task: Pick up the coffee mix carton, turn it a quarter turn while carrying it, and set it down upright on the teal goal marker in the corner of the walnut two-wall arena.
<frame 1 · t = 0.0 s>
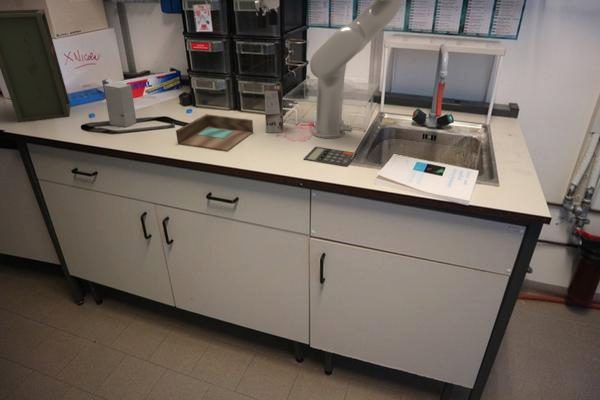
hand: (267, 26, 146), 37 cm above the countertop, tool pointing down, fingers open, 9 cm apart
coffee box: (274, 129, 161), on the countertop
arena: (216, 138, 152), on the countertop
skincare box: (124, 124, 166), on the countertop
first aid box: (46, 113, 177), on the countertop
calculator: (330, 158, 137), on the countertop
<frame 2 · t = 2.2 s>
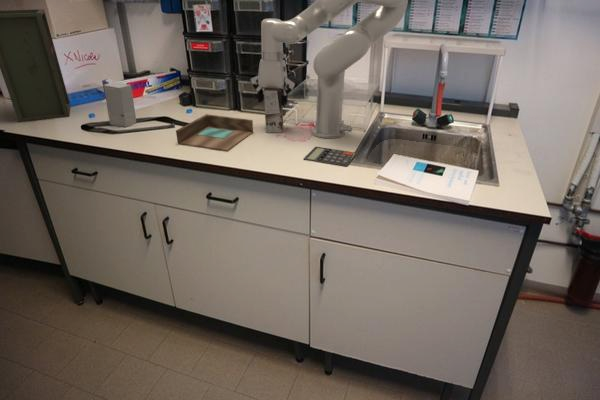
hand: (272, 103, 156), 10 cm above the countertop, tool pointing down, fingers open, 9 cm apart
nothing on the countertop moved.
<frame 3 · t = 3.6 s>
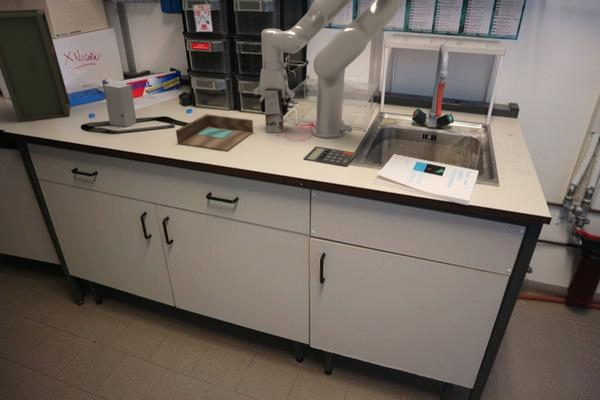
hand: (274, 112, 158), 6 cm above the countertop, tool pointing down, fingers closed on coffee box, 7 cm apart
coffee box: (274, 129, 161), on the countertop, touching gripper
everything else where it was.
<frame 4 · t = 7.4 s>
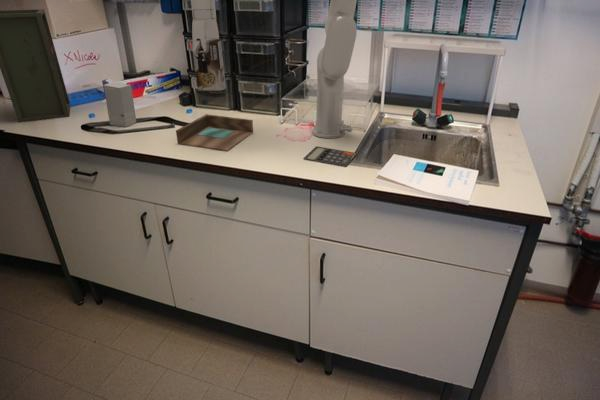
hand: (210, 69, 143), 24 cm above the countertop, tool pointing down, fingers closed on coffee box, 7 cm apart
coffee box: (212, 88, 146), point 17 cm above the countertop, touching gripper
everything else where it was.
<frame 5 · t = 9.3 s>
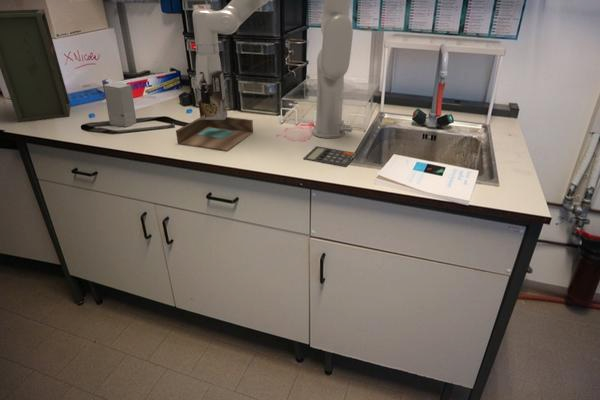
hand: (212, 100, 148), 13 cm above the countertop, tool pointing down, fingers closed on coffee box, 7 cm apart
coffee box: (214, 117, 151), point 7 cm above the countertop, touching gripper
everything else where it was.
when the fingers open (8 cm above the countertop, at t = 11.3 s): coffee box drops 1 cm, resting on arena.
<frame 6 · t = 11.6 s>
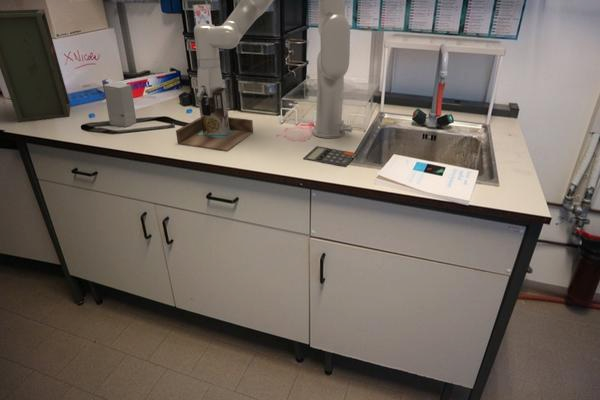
hand: (213, 111, 150), 9 cm above the countertop, tool pointing down, fingers open, 9 cm apart
coffee box: (216, 133, 154), point 1 cm above the countertop, touching arena
everything else where it was.
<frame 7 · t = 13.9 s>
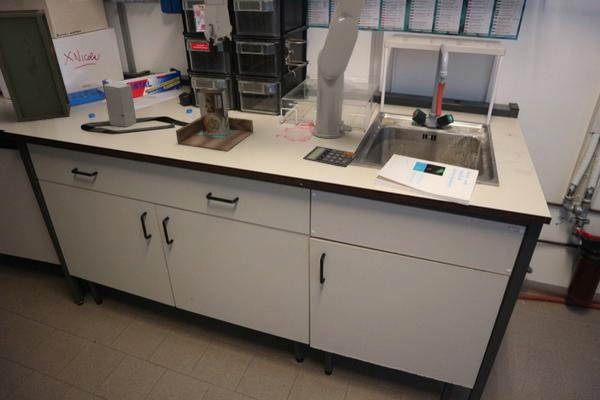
hand: (221, 54, 144), 28 cm above the countertop, tool pointing down, fingers open, 9 cm apart
nothing on the countertop moved.
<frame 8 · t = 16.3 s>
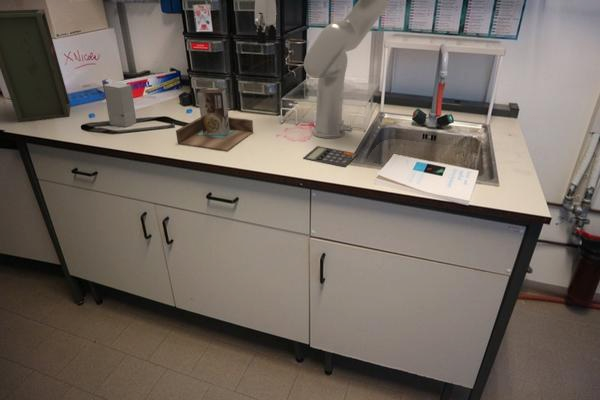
hand: (267, 41, 157), 30 cm above the countertop, tool pointing down, fingers open, 9 cm apart
nothing on the countertop moved.
at the end: coffee box 0.2 cm from the target spot on the arena, point 0.6 cm above the arena's base; coffee box tilted 0°; the gripper is holding nothing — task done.
